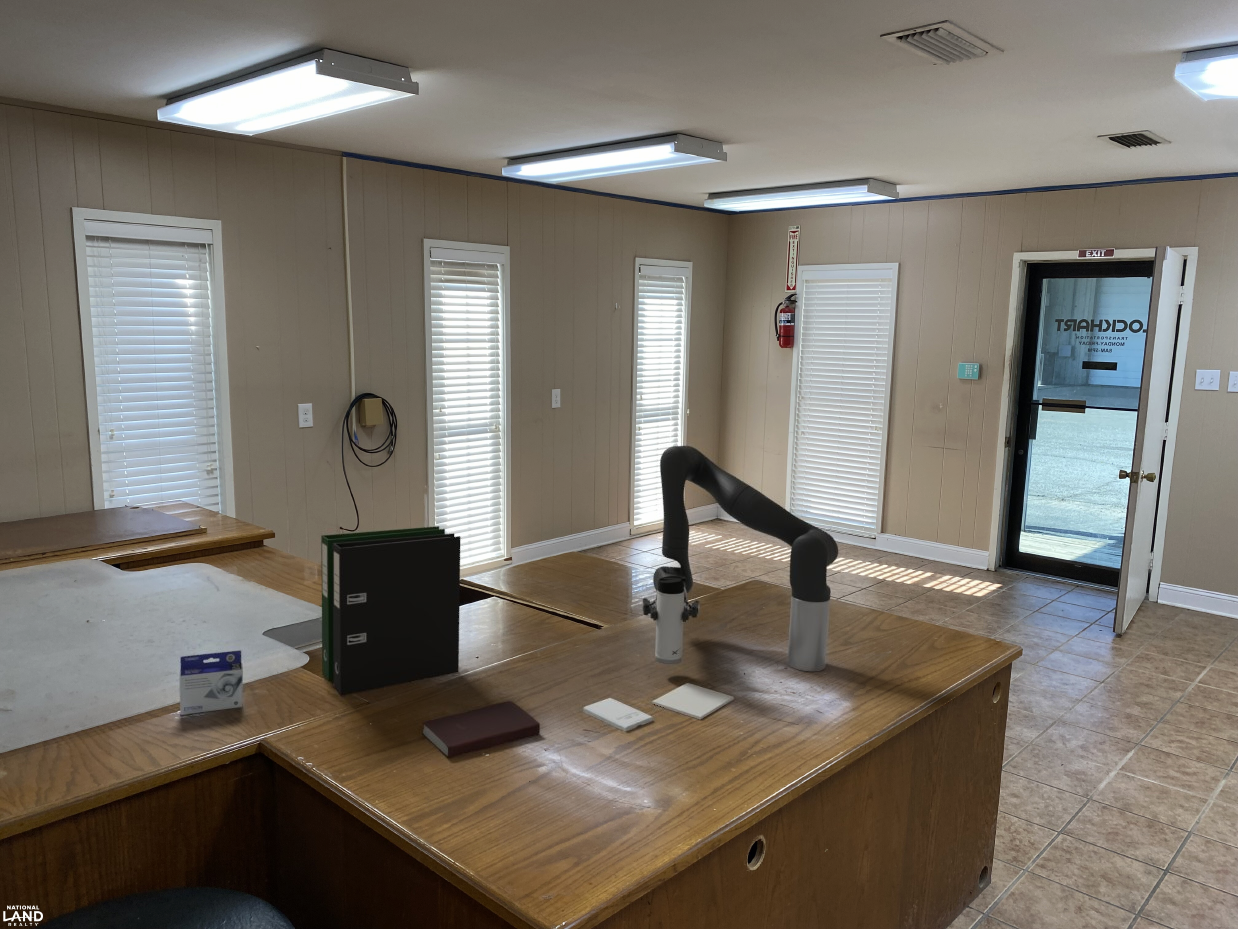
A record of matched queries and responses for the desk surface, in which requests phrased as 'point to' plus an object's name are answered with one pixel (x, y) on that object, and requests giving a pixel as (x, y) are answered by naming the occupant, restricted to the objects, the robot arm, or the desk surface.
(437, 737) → the book
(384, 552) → the ring binders
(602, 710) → the external hard drive
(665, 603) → the travel mug
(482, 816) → the desk surface
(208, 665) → the ink box
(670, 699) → the white square pad
